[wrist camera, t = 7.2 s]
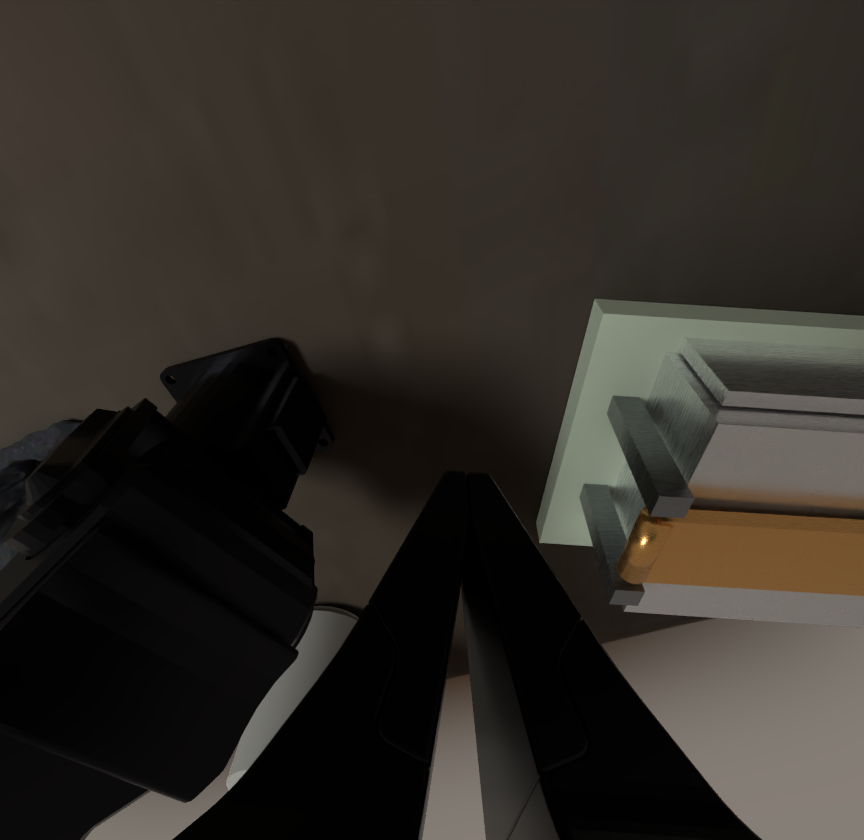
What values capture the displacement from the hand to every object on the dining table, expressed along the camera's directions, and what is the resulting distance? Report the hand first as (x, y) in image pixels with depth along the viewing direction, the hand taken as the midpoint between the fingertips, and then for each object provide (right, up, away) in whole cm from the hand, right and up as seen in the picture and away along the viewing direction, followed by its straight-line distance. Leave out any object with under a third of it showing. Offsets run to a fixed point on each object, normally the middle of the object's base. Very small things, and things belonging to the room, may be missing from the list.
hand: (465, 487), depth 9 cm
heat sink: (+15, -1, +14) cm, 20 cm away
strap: (+14, -4, +10) cm, 18 cm away
